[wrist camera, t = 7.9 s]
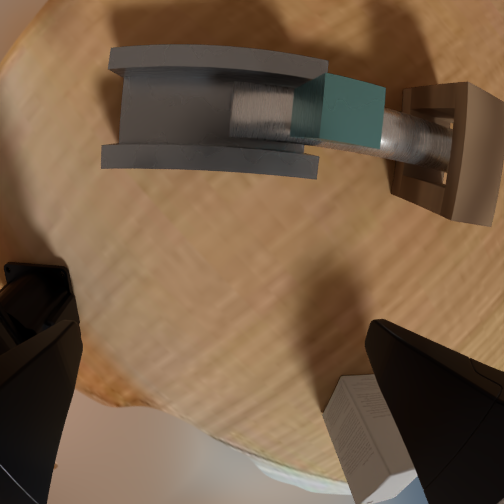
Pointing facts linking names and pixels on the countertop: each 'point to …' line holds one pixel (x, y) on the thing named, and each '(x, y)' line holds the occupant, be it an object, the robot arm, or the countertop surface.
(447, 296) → the countertop surface
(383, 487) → the skincare box
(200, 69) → the channel
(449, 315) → the countertop surface
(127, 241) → the countertop surface
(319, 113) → the rod
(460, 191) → the socket block
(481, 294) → the countertop surface
